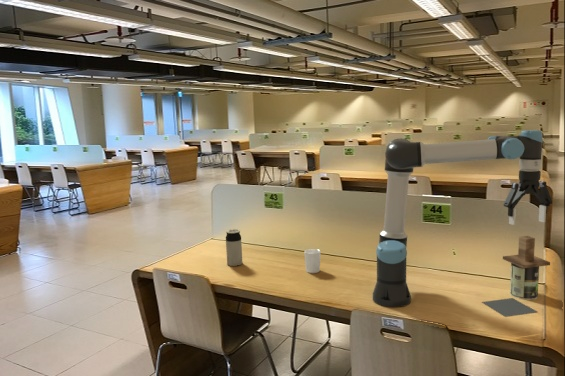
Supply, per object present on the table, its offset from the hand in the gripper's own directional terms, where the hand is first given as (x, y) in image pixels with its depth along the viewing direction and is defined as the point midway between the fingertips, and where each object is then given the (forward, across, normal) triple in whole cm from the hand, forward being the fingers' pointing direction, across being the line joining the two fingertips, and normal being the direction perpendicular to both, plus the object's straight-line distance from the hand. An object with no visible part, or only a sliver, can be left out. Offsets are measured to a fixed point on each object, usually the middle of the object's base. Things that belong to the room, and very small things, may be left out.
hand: (527, 223), depth 184 cm
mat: (+30, -14, -9) cm, 34 cm away
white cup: (+31, -74, +55) cm, 97 cm away
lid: (+16, 0, 0) cm, 16 cm away
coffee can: (+30, 0, 0) cm, 30 cm away
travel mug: (+31, -110, +78) cm, 138 cm away
